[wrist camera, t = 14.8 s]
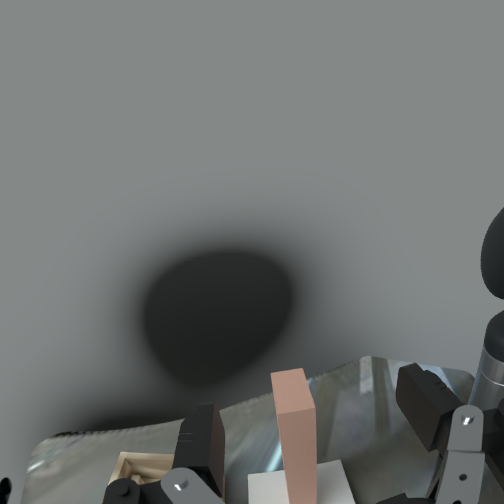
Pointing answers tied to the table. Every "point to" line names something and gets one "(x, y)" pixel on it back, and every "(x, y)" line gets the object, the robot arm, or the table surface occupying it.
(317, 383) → the table surface
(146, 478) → the rack
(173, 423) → the table surface
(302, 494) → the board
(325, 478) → the mat
